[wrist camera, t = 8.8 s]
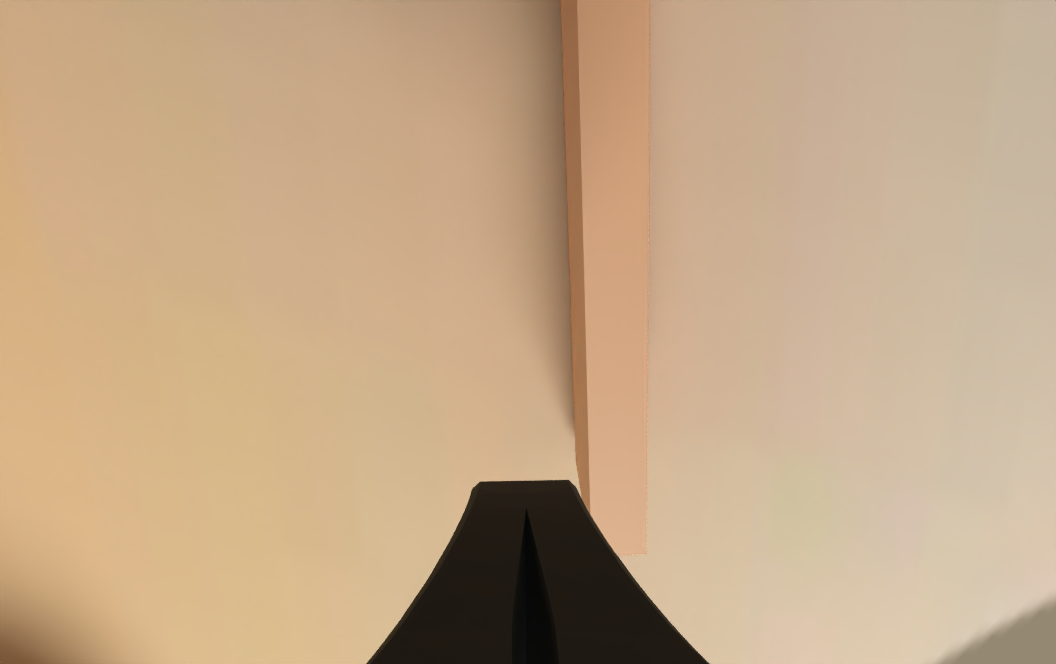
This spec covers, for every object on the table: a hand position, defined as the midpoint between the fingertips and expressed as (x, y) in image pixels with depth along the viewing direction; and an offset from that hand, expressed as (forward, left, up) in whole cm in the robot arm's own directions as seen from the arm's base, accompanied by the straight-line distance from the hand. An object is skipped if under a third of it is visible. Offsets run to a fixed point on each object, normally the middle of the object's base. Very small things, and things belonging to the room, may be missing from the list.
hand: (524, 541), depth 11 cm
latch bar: (+2, +4, -9) cm, 10 cm away
